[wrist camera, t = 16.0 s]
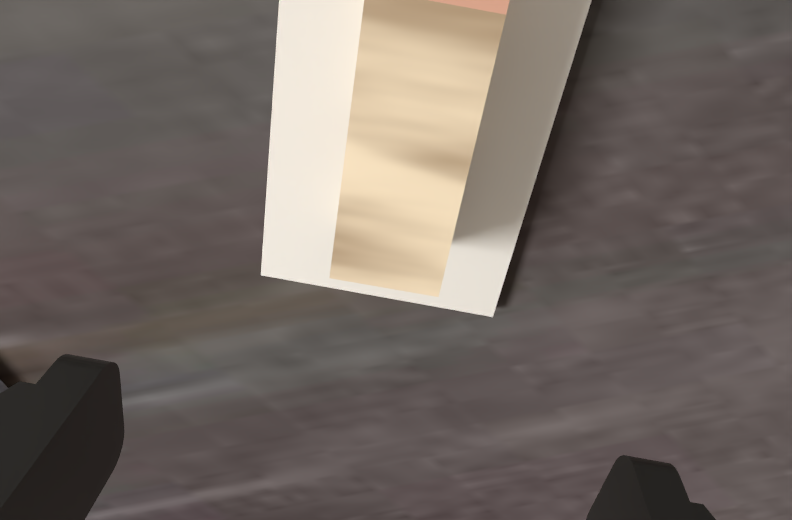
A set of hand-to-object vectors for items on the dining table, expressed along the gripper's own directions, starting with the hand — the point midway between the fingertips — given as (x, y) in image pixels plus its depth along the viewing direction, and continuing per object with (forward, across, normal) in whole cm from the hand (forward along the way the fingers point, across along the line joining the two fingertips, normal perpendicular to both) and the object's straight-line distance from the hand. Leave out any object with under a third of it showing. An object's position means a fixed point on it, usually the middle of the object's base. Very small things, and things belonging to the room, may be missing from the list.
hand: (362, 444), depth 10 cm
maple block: (+17, 0, +6) cm, 18 cm away
